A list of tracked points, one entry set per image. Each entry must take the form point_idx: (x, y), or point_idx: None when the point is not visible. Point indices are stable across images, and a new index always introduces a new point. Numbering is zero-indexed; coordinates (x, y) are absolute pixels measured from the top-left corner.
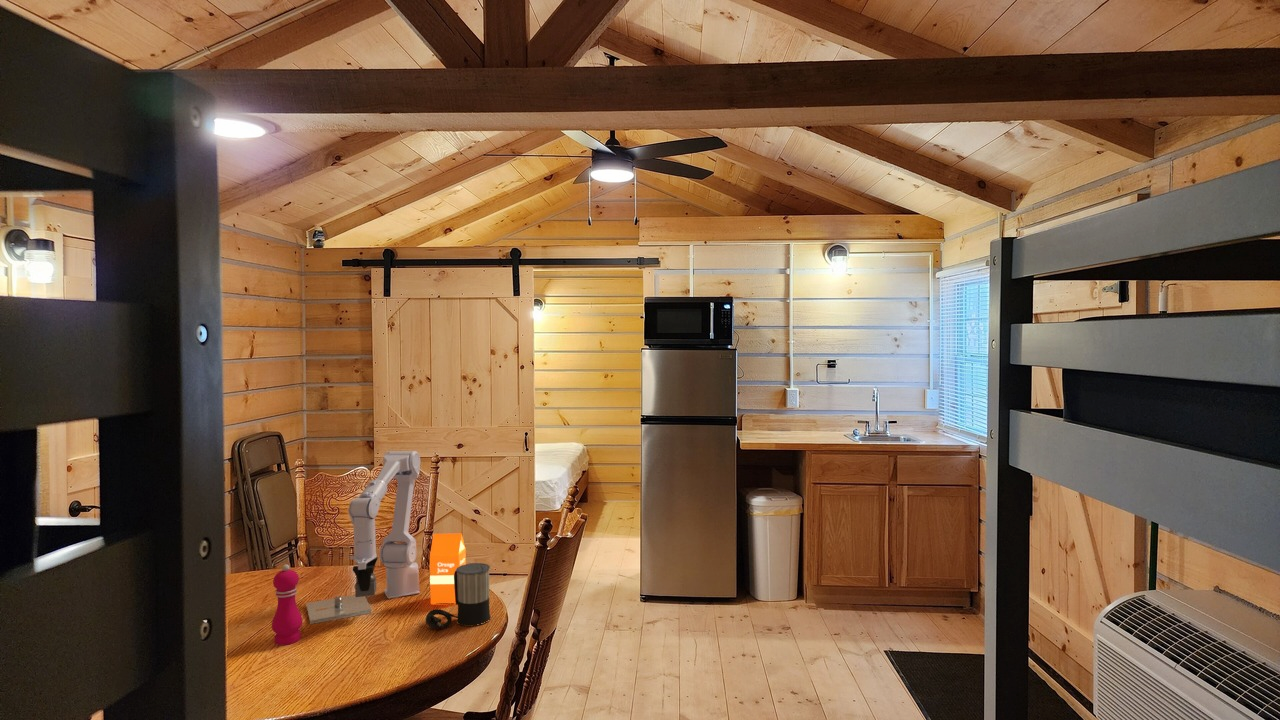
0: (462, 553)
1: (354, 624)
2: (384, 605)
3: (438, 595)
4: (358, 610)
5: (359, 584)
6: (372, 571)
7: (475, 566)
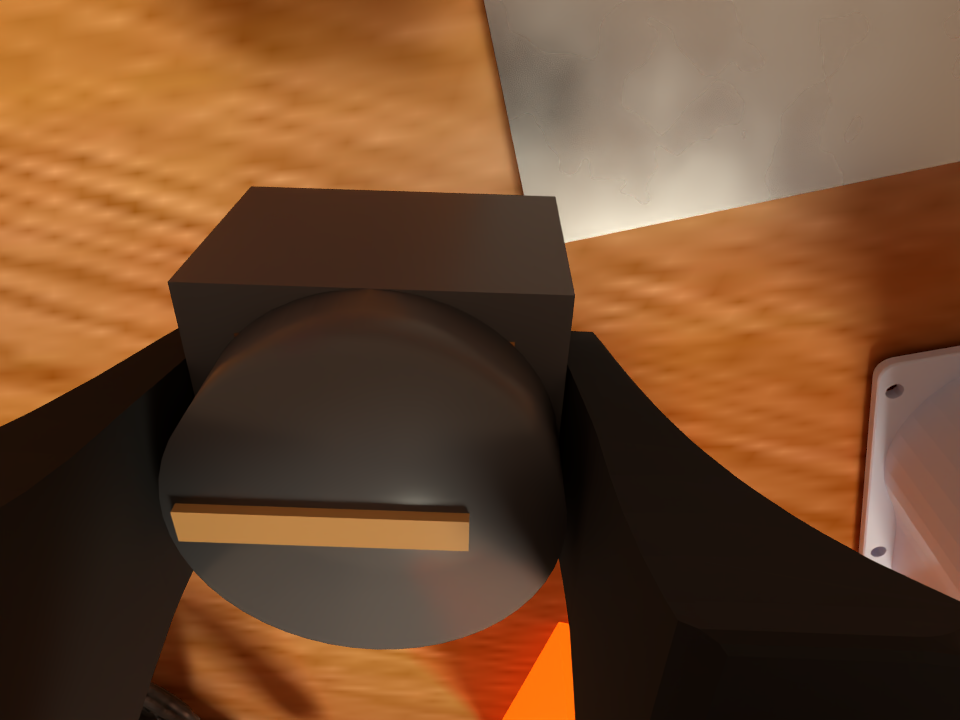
0: None
1: (224, 87)
2: (708, 335)
3: (542, 717)
4: (557, 108)
5: (109, 378)
6: (573, 629)
7: None
